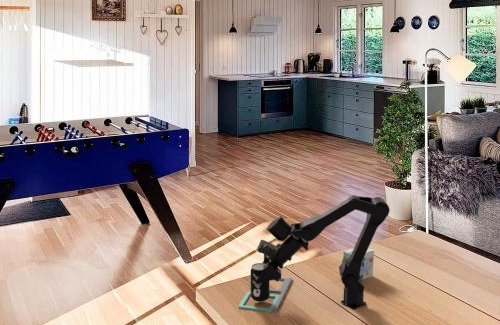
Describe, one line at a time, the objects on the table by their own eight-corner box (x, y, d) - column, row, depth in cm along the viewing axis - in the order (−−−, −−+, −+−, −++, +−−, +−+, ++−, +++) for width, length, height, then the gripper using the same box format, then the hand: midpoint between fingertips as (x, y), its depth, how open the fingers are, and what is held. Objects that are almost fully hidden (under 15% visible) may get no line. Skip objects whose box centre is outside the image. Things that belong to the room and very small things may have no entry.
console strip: (269, 277, 215) (269, 275, 215) (292, 280, 213) (292, 277, 213) (250, 309, 190) (250, 306, 190) (276, 312, 188) (276, 310, 188)
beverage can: (271, 300, 193) (271, 268, 190) (253, 303, 191) (253, 271, 188) (266, 292, 199) (266, 261, 196) (248, 295, 197) (248, 263, 195)
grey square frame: (258, 276, 217) (258, 274, 217) (288, 279, 214) (288, 278, 213) (250, 289, 205) (250, 287, 205) (281, 293, 202) (281, 291, 202)
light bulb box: (354, 283, 210) (355, 256, 208) (341, 277, 216) (342, 251, 213) (373, 276, 217) (374, 250, 214) (360, 270, 222) (361, 245, 219)
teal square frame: (247, 292, 203) (247, 291, 202) (279, 296, 199) (279, 295, 199) (238, 307, 191) (238, 306, 191) (272, 312, 188) (272, 310, 188)
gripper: (271, 224, 199) (241, 253, 202) (270, 243, 181) (237, 274, 183) (293, 245, 200) (262, 273, 203) (295, 265, 182) (262, 296, 185)
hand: (256, 279), depth 193 cm, fingers closed on beverage can, 7 cm apart
